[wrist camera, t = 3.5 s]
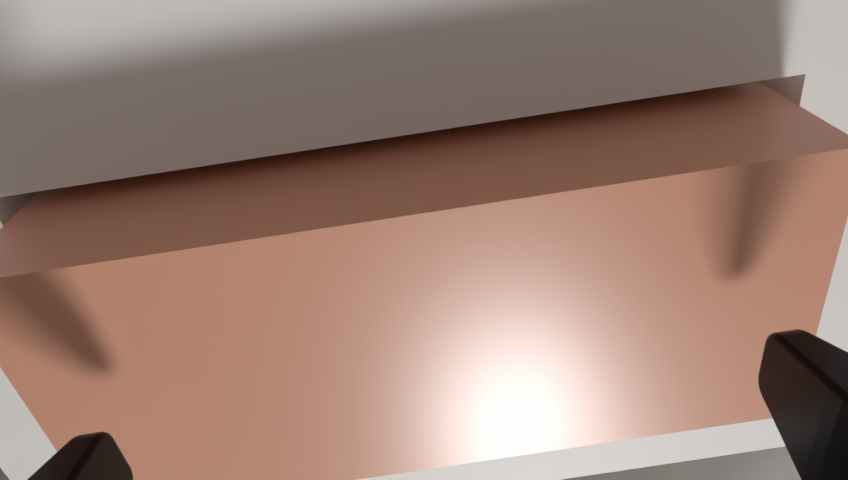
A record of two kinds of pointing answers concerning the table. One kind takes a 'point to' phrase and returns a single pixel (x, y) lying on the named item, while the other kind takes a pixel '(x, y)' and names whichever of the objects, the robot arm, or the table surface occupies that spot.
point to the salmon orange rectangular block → (429, 290)
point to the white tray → (381, 114)
